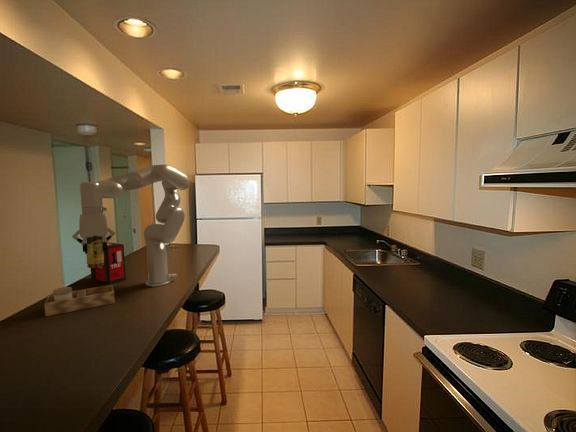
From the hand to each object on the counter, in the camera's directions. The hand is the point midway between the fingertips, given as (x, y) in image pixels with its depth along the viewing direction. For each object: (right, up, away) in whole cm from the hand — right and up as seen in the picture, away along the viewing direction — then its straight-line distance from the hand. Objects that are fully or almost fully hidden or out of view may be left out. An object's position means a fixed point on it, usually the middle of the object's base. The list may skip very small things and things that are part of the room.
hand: (95, 251), depth 128 cm
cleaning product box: (-15, -20, +34) cm, 42 cm away
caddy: (-5, -24, -1) cm, 24 cm away
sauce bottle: (0, -7, +1) cm, 7 cm away
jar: (-10, -23, -4) cm, 26 cm away
